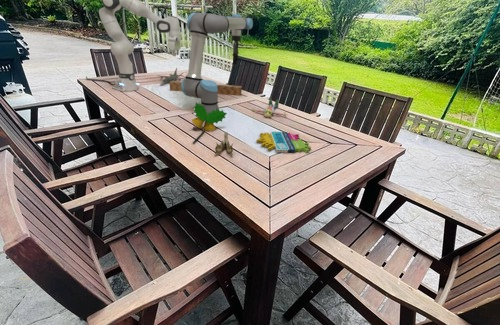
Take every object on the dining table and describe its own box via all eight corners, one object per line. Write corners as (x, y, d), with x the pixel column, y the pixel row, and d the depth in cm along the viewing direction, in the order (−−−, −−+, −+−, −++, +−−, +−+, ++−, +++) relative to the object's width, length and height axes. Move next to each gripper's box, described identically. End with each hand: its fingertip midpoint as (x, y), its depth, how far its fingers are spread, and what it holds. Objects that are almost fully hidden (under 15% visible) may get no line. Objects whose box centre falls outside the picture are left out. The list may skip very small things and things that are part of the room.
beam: (241, 94, 242) (241, 86, 238) (240, 95, 237) (241, 87, 234) (171, 89, 242) (171, 80, 239) (170, 90, 238) (169, 82, 234)
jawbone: (234, 135, 144) (233, 125, 135) (233, 160, 138) (232, 151, 129) (217, 135, 144) (216, 125, 135) (216, 160, 138) (214, 150, 129)
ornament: (218, 133, 171) (224, 110, 169) (221, 134, 163) (227, 111, 161) (186, 125, 162) (192, 101, 160) (189, 126, 155) (195, 101, 153)
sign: (313, 150, 142) (258, 149, 139) (312, 153, 143) (258, 152, 140) (301, 132, 164) (254, 130, 161) (301, 134, 165) (254, 133, 162)
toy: (291, 100, 208) (287, 111, 182) (290, 109, 211) (286, 120, 185) (257, 96, 213) (248, 105, 187) (256, 105, 216) (248, 115, 190)
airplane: (151, 78, 274) (150, 68, 269) (181, 76, 288) (180, 67, 282) (158, 87, 246) (157, 77, 241) (191, 85, 259) (191, 75, 254)
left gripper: (174, 36, 228) (175, 53, 235) (167, 38, 210) (168, 56, 217) (181, 37, 228) (182, 54, 235) (174, 39, 210) (176, 57, 217)
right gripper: (233, 34, 227) (232, 60, 237) (230, 36, 205) (229, 64, 215) (241, 35, 227) (240, 60, 237) (239, 36, 205) (238, 65, 215)
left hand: (175, 55), depth 225 cm, fingers open, 8 cm apart
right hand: (235, 62), depth 226 cm, fingers open, 13 cm apart
